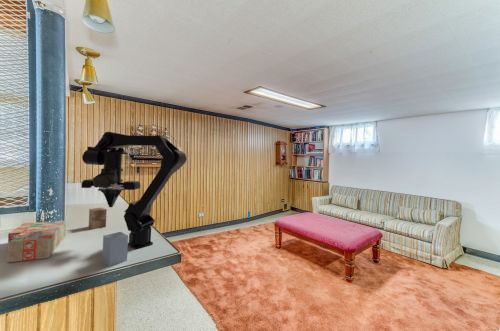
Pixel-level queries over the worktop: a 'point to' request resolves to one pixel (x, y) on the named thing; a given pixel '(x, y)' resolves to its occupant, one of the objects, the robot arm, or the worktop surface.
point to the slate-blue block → (115, 248)
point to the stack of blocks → (35, 240)
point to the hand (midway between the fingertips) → (110, 207)
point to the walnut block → (97, 218)
